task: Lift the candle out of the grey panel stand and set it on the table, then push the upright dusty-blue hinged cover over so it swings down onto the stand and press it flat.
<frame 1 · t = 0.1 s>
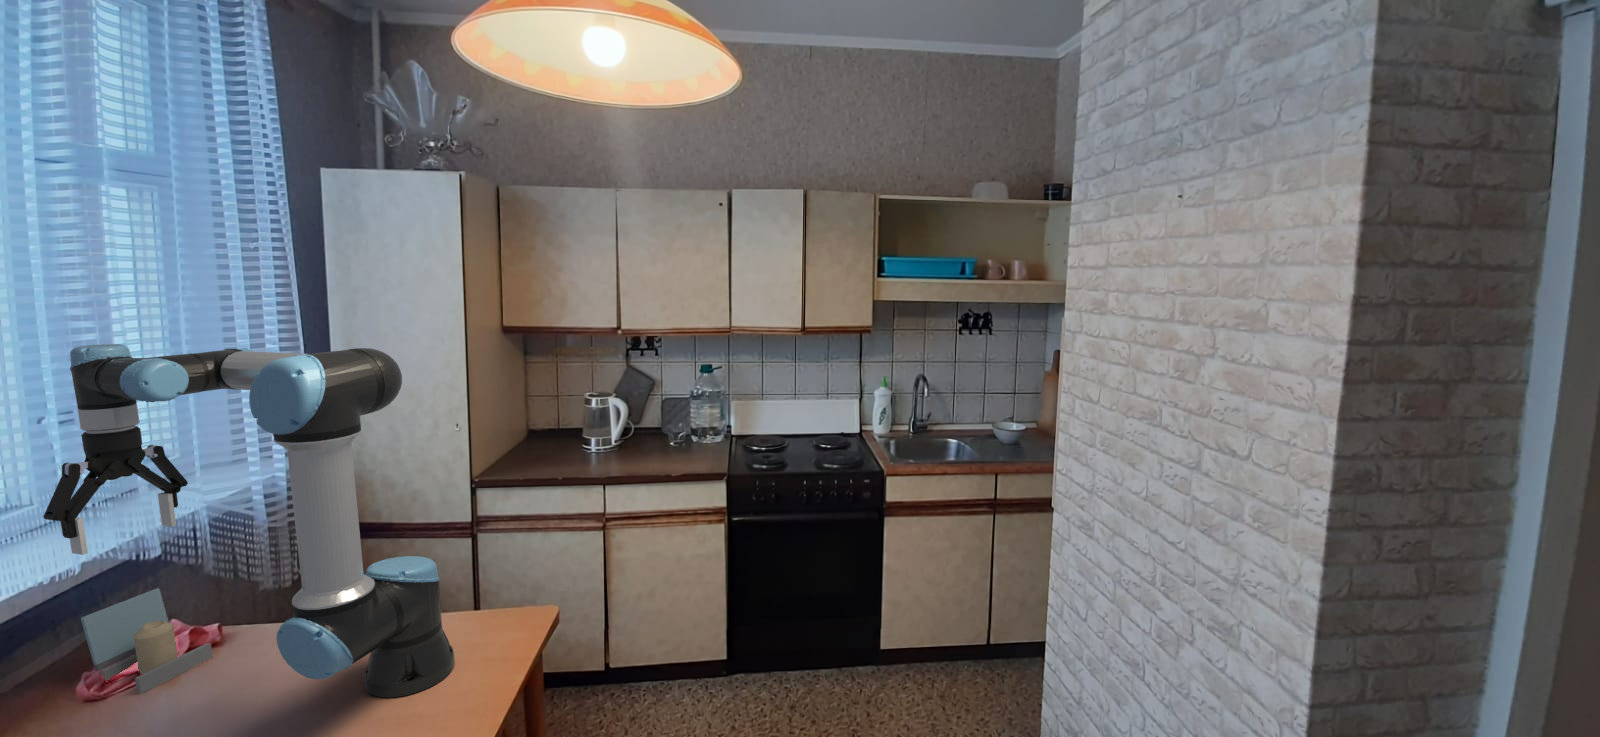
hand: (126, 538, 123), 28 cm above the table, fingers open, 13 cm apart
cover: (128, 627, 129), point 8 cm above the table, hinge at 100.0°
grey panel stand: (159, 671, 128), on the table
candle: (159, 672, 128), on the table
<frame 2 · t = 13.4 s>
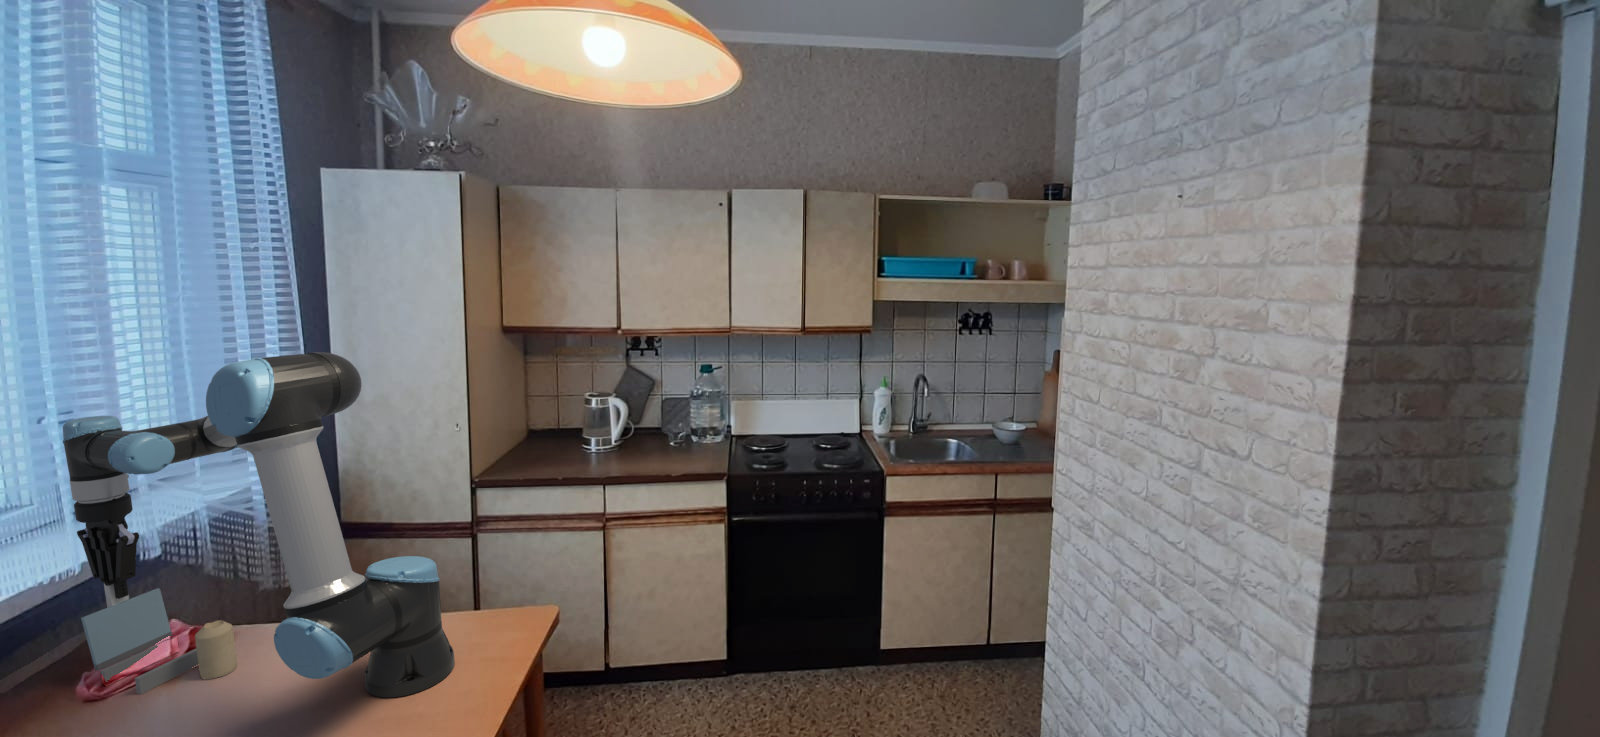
hand: (119, 612, 129), 11 cm above the table, fingers closed
cover: (128, 627, 129), point 8 cm above the table, hinge at 99.3°, touching gripper
candle: (219, 672, 129), on the table
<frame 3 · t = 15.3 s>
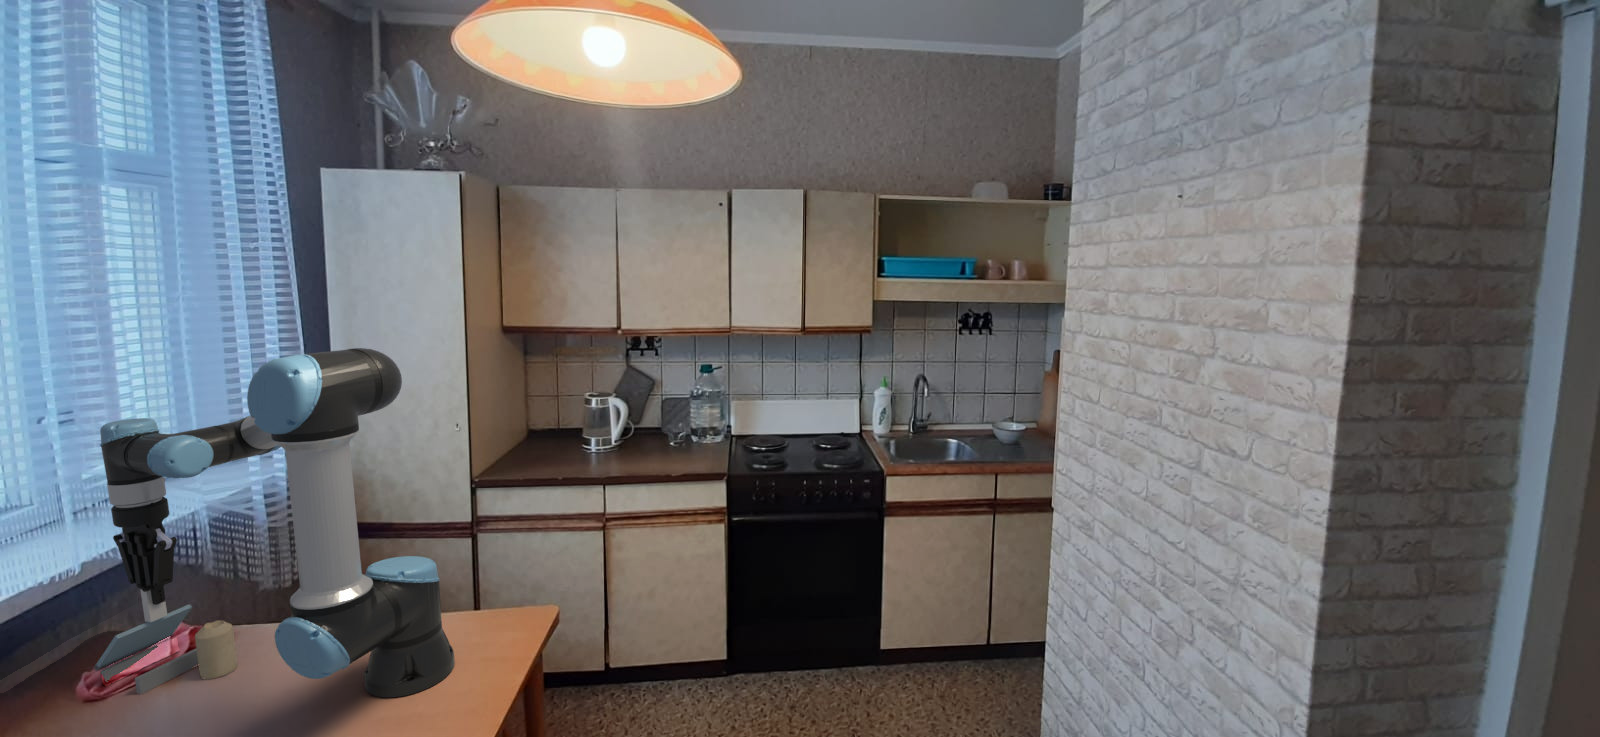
hand: (156, 618, 126), 11 cm above the table, fingers closed
cover: (144, 636, 128), point 7 cm above the table, hinge at 46.6°, touching gripper
everything else where it was.
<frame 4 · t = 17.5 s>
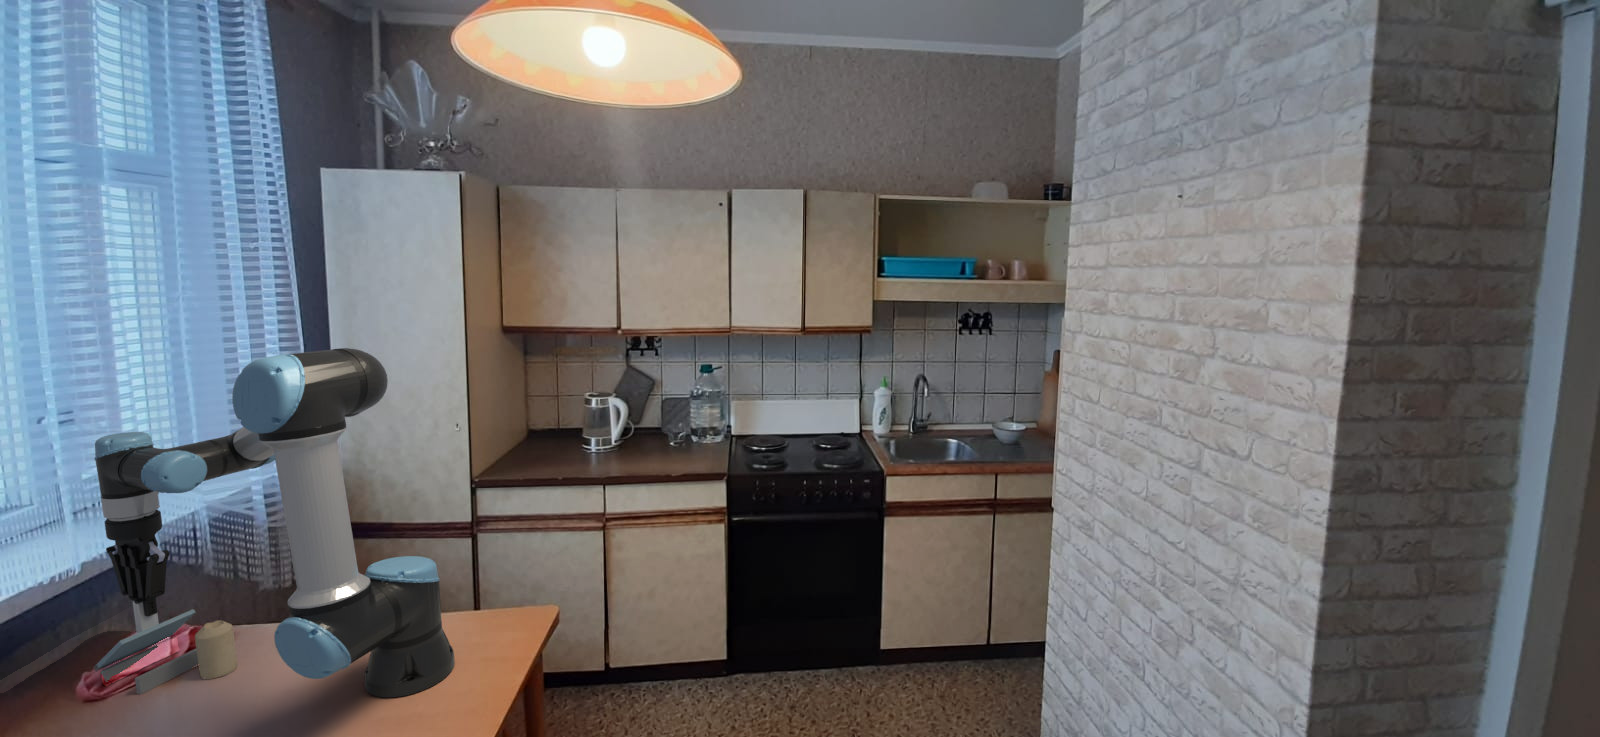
hand: (148, 629, 127), 9 cm above the table, fingers closed
cover: (146, 638, 128), point 6 cm above the table, hinge at 39.1°, touching gripper
everything else where it was.
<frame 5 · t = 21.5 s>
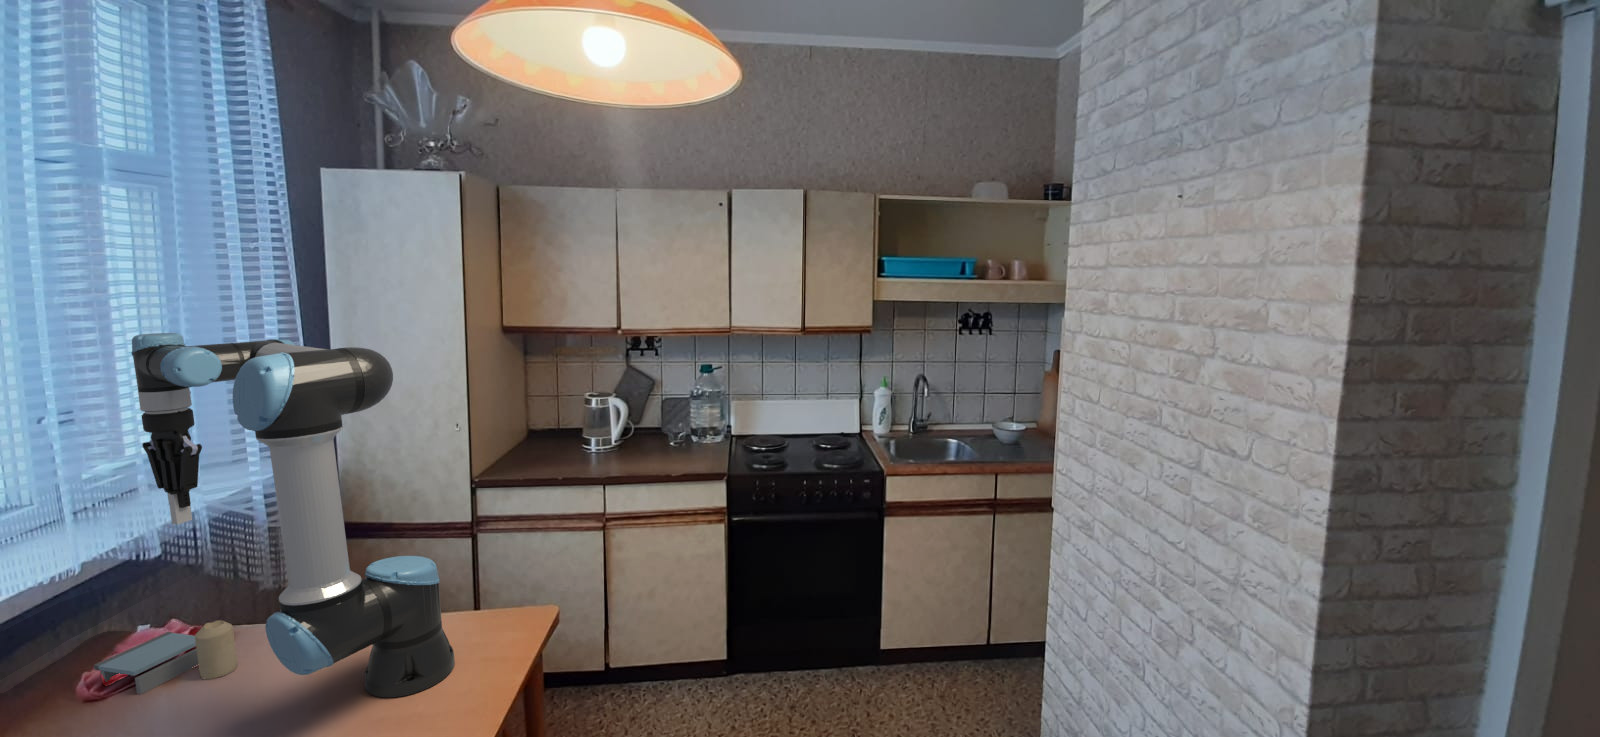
hand: (182, 521, 135), 26 cm above the table, fingers closed
cover: (152, 652, 128), point 4 cm above the table, hinge at 2.7°
everything else where it was.
at the end: cover at +3° (first picture: +100°); candle inside the target area (0.9 cm from its centre), on the table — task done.
